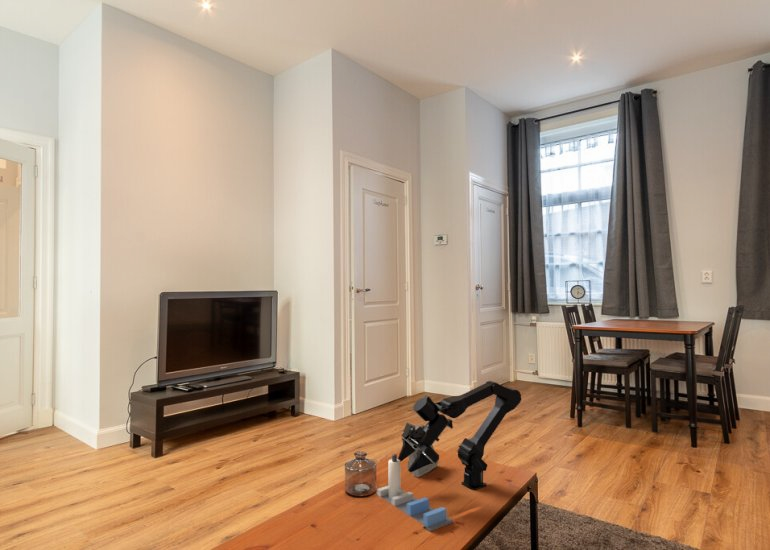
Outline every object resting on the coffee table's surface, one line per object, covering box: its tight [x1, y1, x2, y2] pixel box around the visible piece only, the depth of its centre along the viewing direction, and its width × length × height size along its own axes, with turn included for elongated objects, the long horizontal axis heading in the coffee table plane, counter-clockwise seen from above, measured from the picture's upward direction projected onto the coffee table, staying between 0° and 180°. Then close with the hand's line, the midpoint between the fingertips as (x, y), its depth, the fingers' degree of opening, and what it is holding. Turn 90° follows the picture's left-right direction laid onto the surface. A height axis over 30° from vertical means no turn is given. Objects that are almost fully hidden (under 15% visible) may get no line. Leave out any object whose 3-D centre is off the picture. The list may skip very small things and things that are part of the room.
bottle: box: [387, 453, 402, 500], centre depth 156 cm, size 4×4×14 cm
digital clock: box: [407, 443, 439, 478], centre depth 180 cm, size 16×9×11 cm, turn 134°
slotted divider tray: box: [375, 485, 454, 533], centre depth 150 cm, size 9×28×4 cm, turn 35°
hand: (403, 466), depth 157 cm, fingers open, 9 cm apart
